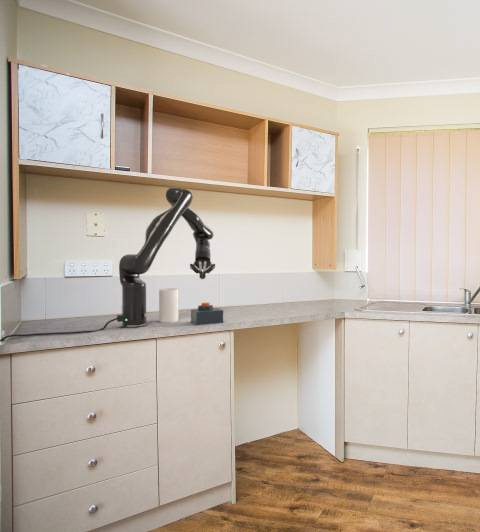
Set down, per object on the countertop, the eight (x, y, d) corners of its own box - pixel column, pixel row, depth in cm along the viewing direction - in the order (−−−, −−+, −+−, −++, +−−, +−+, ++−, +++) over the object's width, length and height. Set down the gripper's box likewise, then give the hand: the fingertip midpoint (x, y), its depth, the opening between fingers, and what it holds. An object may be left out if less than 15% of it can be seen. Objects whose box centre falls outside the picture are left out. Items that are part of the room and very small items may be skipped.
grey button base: (196, 325, 186) (196, 308, 185) (190, 321, 194) (190, 305, 194) (223, 322, 193) (223, 306, 193) (216, 319, 202) (216, 304, 202)
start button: (202, 307, 193) (202, 303, 193) (200, 306, 196) (200, 302, 196) (210, 306, 195) (210, 303, 195) (208, 305, 198) (208, 302, 198)
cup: (162, 319, 199) (162, 288, 198) (180, 319, 200) (180, 288, 200) (156, 322, 191) (156, 289, 190) (174, 322, 192) (174, 289, 192)
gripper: (189, 249, 213) (188, 273, 202) (216, 250, 218) (216, 273, 208) (189, 259, 218) (188, 283, 207) (215, 259, 223) (216, 282, 213)
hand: (202, 278), depth 207 cm, fingers closed
